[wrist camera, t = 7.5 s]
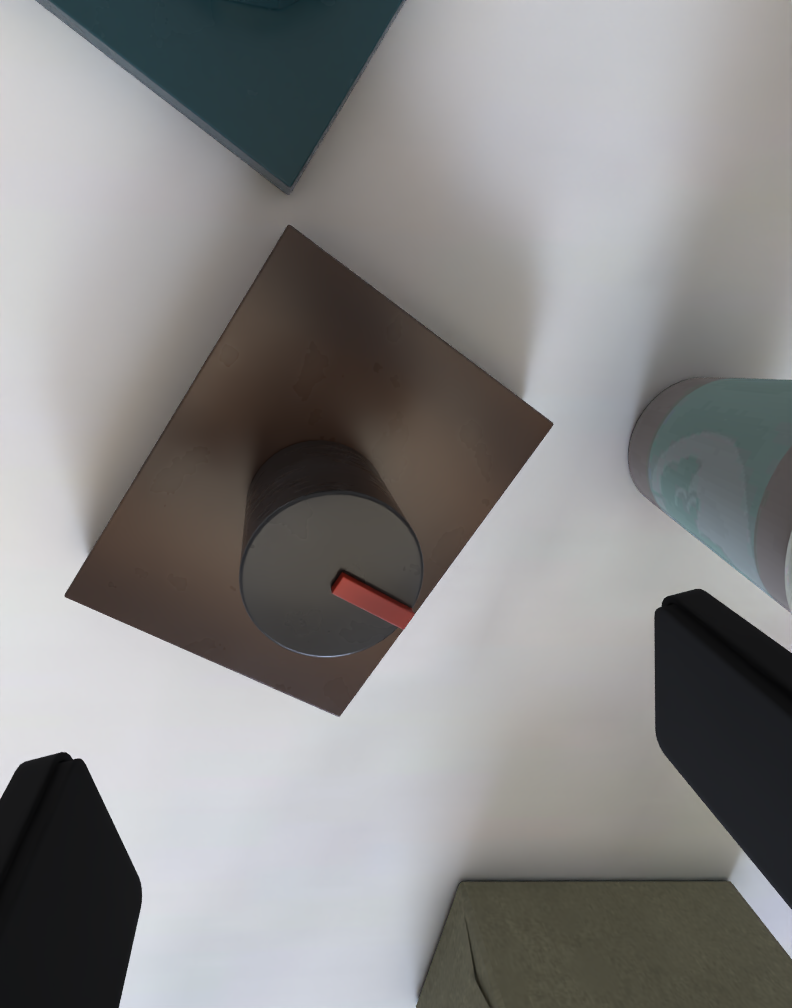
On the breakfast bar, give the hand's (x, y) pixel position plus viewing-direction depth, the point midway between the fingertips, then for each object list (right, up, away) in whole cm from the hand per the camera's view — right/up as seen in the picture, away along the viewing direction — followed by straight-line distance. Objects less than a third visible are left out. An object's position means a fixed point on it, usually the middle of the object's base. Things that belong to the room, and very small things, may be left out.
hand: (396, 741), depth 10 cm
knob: (-3, +4, +11) cm, 12 cm away
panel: (-3, +5, +14) cm, 15 cm away
